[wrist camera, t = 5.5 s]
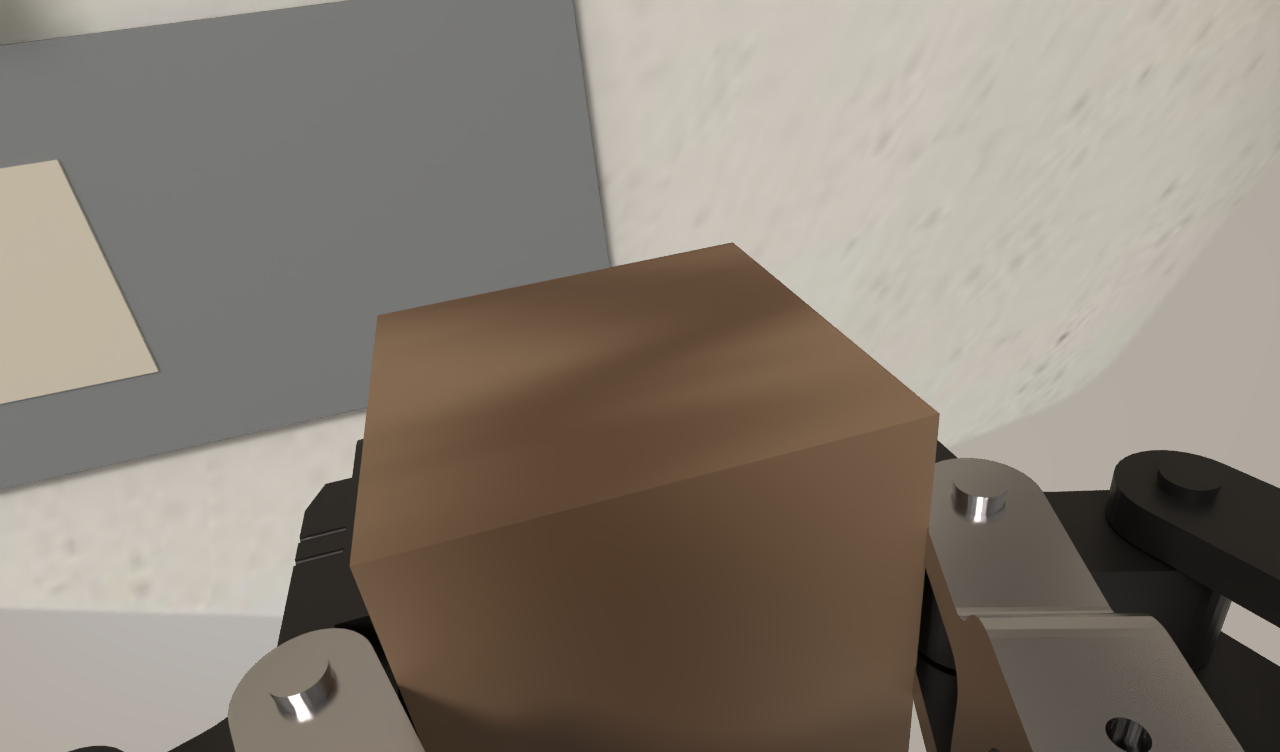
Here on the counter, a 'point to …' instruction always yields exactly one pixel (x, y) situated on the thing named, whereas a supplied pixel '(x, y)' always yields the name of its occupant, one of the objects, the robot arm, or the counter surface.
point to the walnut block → (643, 517)
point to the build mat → (268, 210)
